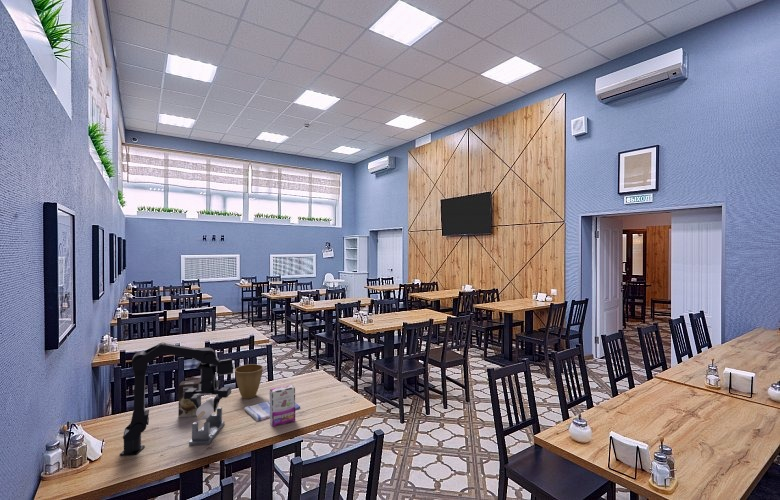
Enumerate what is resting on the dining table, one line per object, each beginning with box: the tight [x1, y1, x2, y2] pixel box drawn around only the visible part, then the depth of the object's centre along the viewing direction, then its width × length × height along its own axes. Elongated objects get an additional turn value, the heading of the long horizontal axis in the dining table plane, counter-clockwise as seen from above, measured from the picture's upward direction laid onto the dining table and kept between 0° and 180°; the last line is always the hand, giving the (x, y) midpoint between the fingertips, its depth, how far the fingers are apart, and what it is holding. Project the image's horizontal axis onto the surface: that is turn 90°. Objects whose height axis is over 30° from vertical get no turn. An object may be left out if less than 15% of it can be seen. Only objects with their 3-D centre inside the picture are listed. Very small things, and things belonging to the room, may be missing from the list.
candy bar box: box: [269, 384, 296, 427], centre depth 178 cm, size 11×5×16 cm, turn 123°
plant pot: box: [234, 363, 264, 400], centre depth 209 cm, size 15×15×16 cm
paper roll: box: [195, 396, 220, 421], centre depth 166 cm, size 18×6×6 cm, turn 5°
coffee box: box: [177, 379, 201, 418], centre depth 186 cm, size 9×6×16 cm
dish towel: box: [244, 400, 301, 422], centre depth 192 cm, size 17×24×3 cm
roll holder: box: [188, 406, 225, 447], centre depth 166 cm, size 19×8×8 cm, turn 5°
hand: (207, 412), depth 166 cm, fingers closed on paper roll, 6 cm apart
